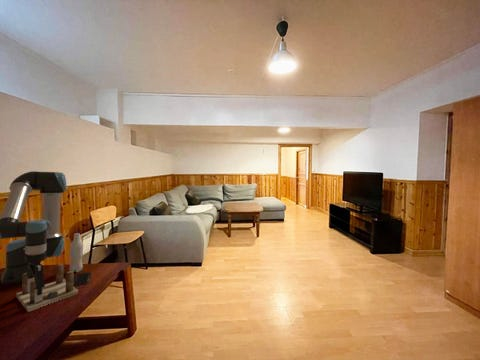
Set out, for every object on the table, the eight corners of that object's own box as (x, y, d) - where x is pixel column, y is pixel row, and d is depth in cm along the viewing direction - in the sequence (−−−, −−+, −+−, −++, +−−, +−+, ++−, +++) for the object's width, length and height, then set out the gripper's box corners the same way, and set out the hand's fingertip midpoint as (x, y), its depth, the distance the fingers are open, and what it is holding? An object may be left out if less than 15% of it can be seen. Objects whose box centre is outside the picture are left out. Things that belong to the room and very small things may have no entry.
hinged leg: (29, 300, 107) (29, 281, 107) (56, 292, 115) (57, 274, 115) (30, 303, 105) (30, 284, 105) (58, 295, 113) (58, 277, 112)
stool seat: (16, 297, 114) (17, 274, 113) (63, 282, 130) (64, 262, 130) (28, 312, 103) (28, 286, 102) (78, 293, 119) (78, 272, 119)
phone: (91, 272, 143) (88, 282, 130) (91, 273, 143) (88, 284, 130) (76, 274, 139) (72, 285, 126) (76, 276, 139) (72, 287, 126)
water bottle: (79, 268, 150) (80, 231, 149) (84, 270, 146) (85, 233, 145) (66, 271, 144) (68, 233, 143) (72, 274, 140) (73, 235, 139)
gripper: (19, 248, 110) (18, 290, 111) (31, 262, 96) (30, 309, 96) (39, 245, 116) (38, 284, 117) (53, 257, 102) (52, 302, 103)
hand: (34, 296), depth 107 cm, fingers open, 13 cm apart
